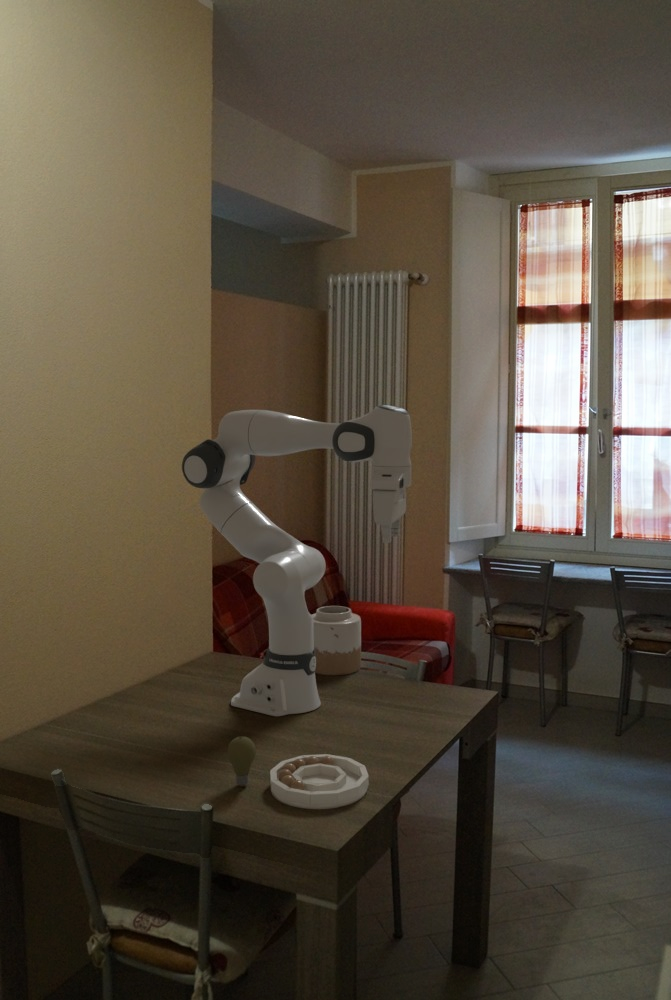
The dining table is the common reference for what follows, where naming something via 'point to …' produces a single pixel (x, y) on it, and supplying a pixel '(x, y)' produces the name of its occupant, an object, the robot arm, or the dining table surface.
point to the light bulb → (241, 758)
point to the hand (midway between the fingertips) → (390, 539)
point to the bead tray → (319, 781)
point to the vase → (337, 640)
